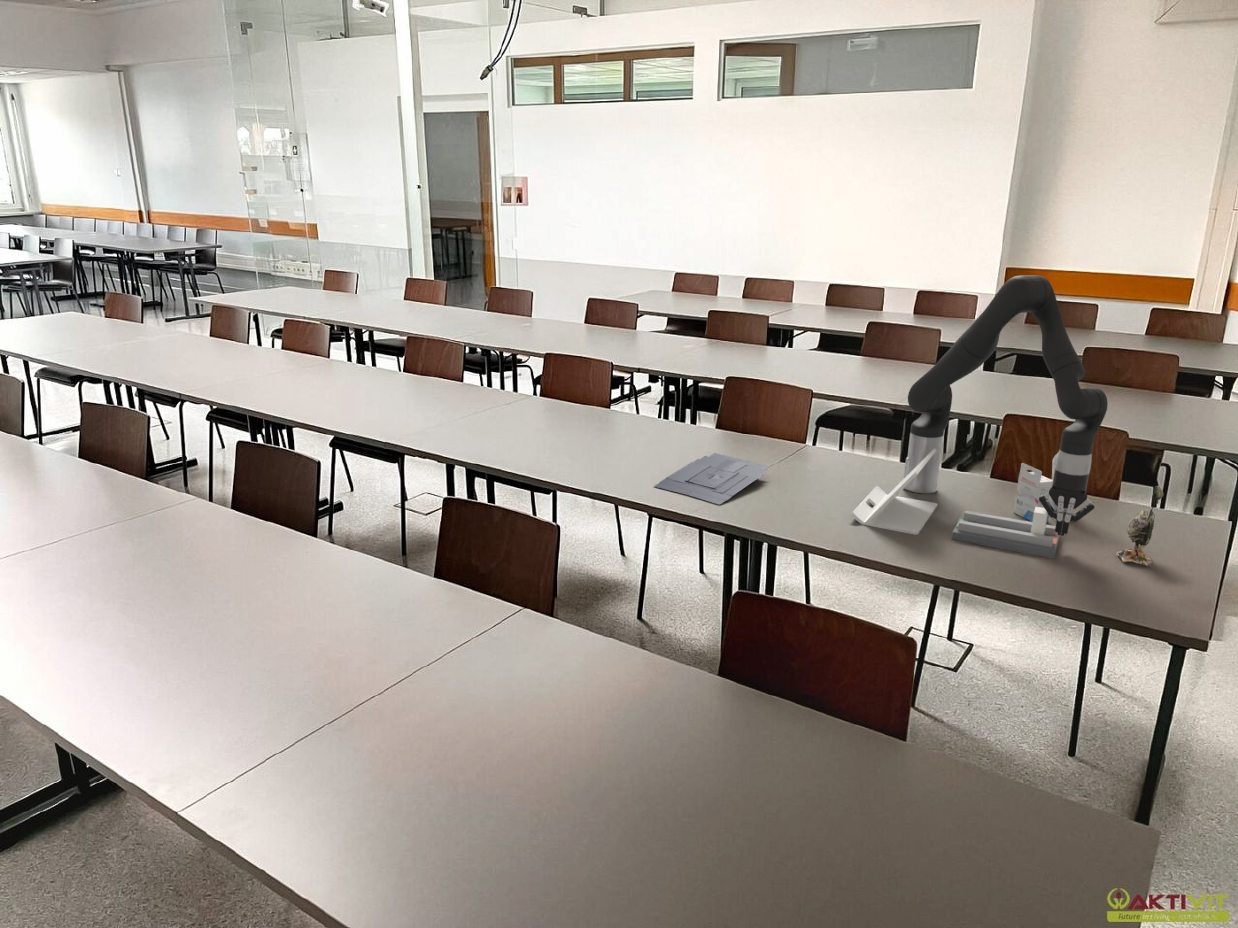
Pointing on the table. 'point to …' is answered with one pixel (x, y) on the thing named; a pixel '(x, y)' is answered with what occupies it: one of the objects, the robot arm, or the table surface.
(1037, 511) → the white rectangular block
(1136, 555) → the plant with pod
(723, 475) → the papers
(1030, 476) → the ink box
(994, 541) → the switch panel
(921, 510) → the tablet stand
